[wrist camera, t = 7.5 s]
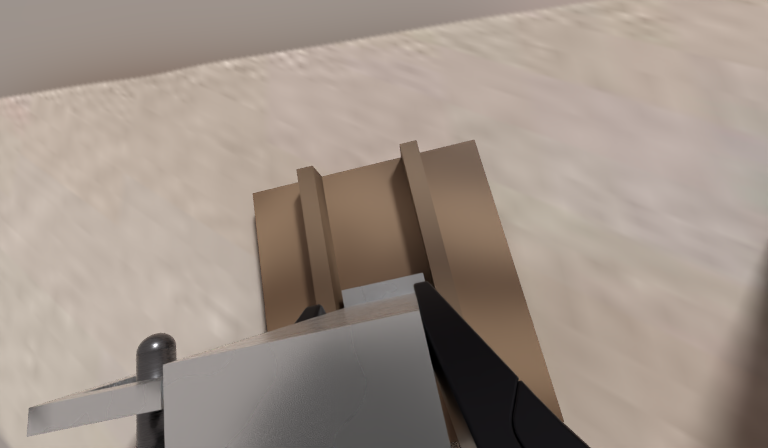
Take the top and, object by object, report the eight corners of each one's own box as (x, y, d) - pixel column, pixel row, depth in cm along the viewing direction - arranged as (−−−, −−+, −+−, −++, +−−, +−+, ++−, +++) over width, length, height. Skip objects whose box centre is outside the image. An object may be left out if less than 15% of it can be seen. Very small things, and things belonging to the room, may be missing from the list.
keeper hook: (270, 466, 13) (192, 564, 9) (198, 479, 13) (84, 582, 9) (255, 314, 15) (183, 327, 10) (191, 328, 15) (92, 346, 10)
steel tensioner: (444, 366, 12) (611, 805, 2) (161, 422, 13) (-834, 962, 3) (422, 273, 13) (451, 228, 3) (160, 330, 14) (-581, 461, 4)
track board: (550, 409, 13) (584, 439, 10) (293, 457, 13) (265, 497, 11) (469, 150, 16) (480, 124, 13) (264, 200, 16) (236, 184, 14)
